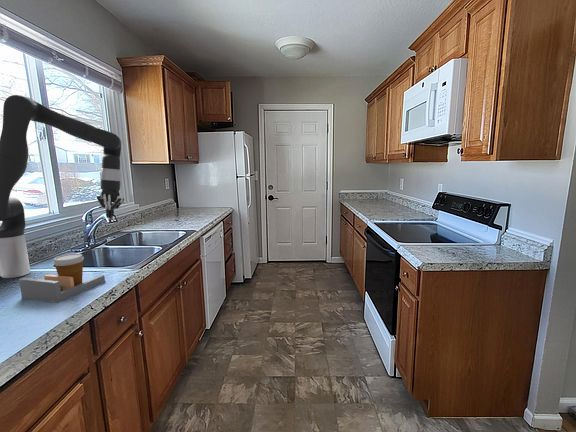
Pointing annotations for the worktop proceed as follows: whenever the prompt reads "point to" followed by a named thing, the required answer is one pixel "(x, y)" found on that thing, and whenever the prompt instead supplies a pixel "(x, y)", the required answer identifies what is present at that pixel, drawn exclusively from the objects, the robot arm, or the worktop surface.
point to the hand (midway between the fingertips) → (109, 217)
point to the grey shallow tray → (53, 289)
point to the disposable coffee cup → (70, 266)
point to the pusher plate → (61, 281)
